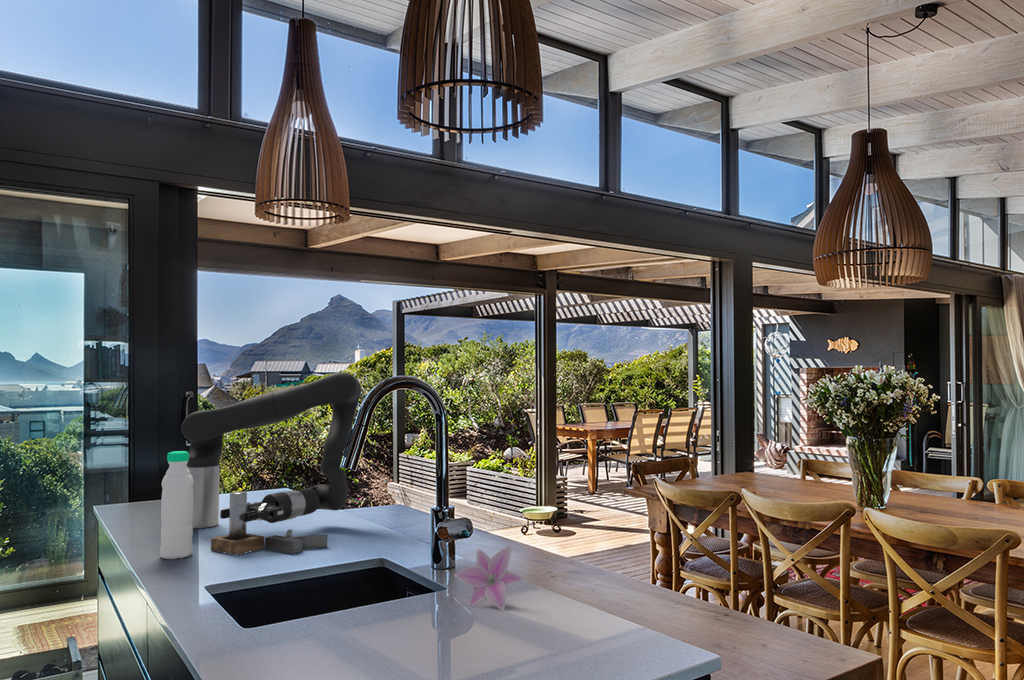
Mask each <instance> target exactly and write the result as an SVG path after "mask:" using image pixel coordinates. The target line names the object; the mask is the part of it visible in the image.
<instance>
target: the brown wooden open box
mask: <svg viewBox="0 0 1024 680" xmlns="http://www.w3.org/2000/svg"><path fill="white" fill-rule="evenodd" d="M263 549H264V550H265V536H264V535H258V534H251V533H246V538H245V539H240V540H236V541H235V540H229V533H228V534H222V535H219V536H216V537H211V538H210V551H212V550H214V551H213V552H217V551H220V552H219V553H222V552H226V553H225V554H228V553H231V554H230V555H233V554H240V555H242V554H241V553H244V554H246V553H245V552H248V553H250V552H249V551H252V552H255V551H254V550H256V551H260V550H263Z"/></svg>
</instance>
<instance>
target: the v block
mask: <svg viewBox="0 0 1024 680" xmlns="http://www.w3.org/2000/svg"><path fill="white" fill-rule="evenodd" d="M315 548H317V549H327V548H328V534H320V535H319V534H317V535H316V534H315V535H301V536H300V535H299V536H297V535H296V536H293V529H287V531H286V533H285V536H283V535H277V534H274V535H270V536H269V535H268V536H264V550H266V551H271V550H272V551H273V552H277V551H279V552H278V553H283V552H284V553H283V554H288V553H290V554H289V555H295V554H299V553H303V551H304V550H313V549H314V550H315Z"/></svg>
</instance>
